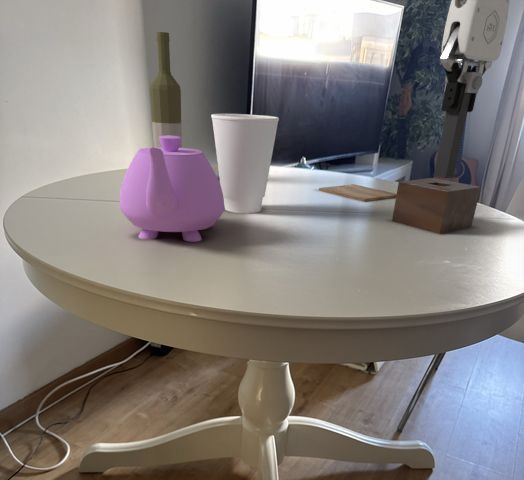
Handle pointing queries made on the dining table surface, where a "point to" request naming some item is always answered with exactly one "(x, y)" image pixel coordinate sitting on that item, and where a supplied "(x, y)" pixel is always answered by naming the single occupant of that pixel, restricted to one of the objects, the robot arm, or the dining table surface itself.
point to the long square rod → (455, 129)
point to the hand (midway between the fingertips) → (457, 110)
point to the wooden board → (358, 192)
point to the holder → (435, 204)
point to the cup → (244, 158)
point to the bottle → (165, 96)
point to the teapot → (171, 191)
